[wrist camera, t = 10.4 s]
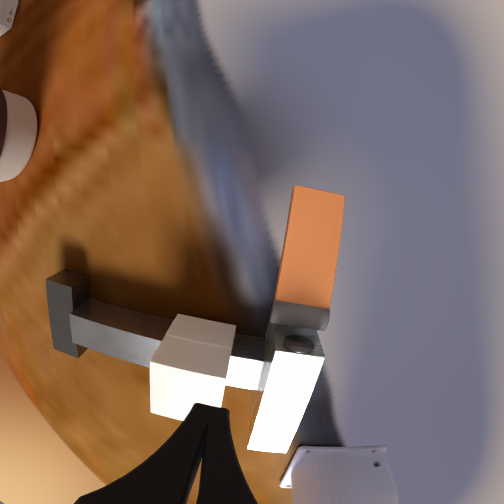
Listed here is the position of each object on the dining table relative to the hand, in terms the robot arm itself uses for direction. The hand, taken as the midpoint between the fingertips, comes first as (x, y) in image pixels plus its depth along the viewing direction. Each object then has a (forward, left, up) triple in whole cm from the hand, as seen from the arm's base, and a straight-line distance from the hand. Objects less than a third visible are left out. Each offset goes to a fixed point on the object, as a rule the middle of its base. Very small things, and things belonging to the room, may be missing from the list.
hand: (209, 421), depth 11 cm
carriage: (+2, +2, -10) cm, 10 cm away
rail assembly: (+4, +2, -10) cm, 11 cm away
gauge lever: (-4, -5, -8) cm, 10 cm away
